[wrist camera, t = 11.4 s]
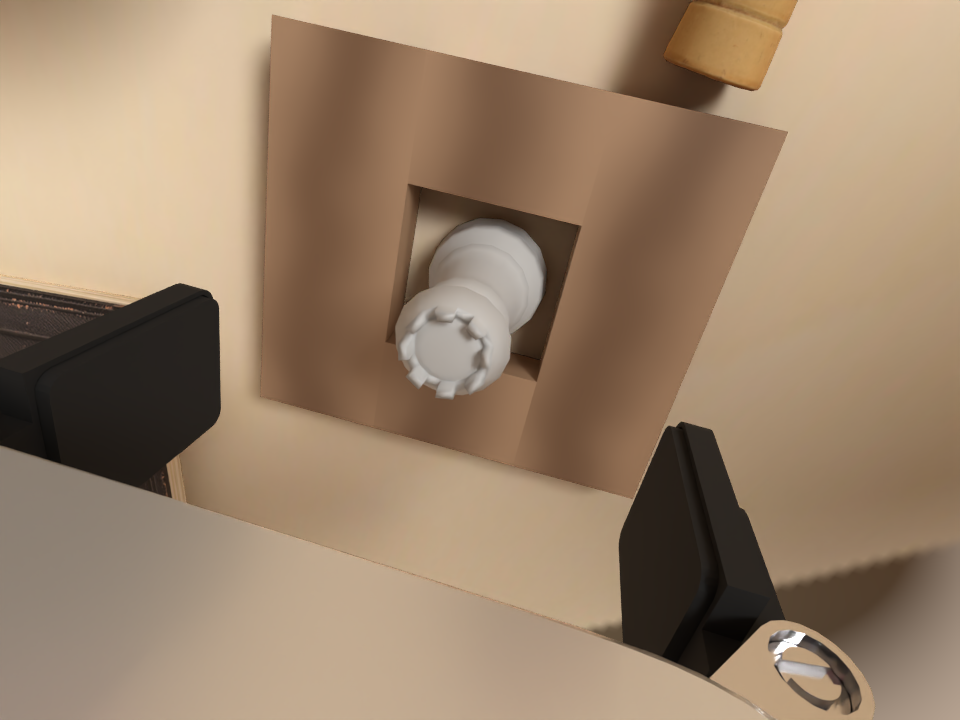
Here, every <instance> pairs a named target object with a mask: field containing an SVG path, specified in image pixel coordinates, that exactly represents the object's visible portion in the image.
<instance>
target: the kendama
mask: <svg viewBox="0 0 960 720" xmlns="http://www.w3.org/2000/svg"><path fill="white" fill-rule="evenodd" d="M797 1H798V0H694V1H693V2H691V3H690V4H689V6H688V8H687V10H686V12H685V14H684V16H683V17H682V19H681V21H680V23H679V25H678V27H677V29H676V31H675V33H674V35H673V37H672V38H671V40H670V42H669V44H668V46H667V48H666V50H665V52H664V55H663V57H664V58H665V59H666V61H668V62H670V63H672V64H674V65H677V66H680V67H683V68H686V69H688V70H690V71H693V72H696V73H698V74H702V75H704V76H706V77H708V78H711V79H714V80H717V81H721V82H723V83H726V84H728V85H732V86H734V87H737V88H741V89H745V90H749V91H754V90H758V89H759V88H760V86H761V84H762V82H763V79H764V77H765V75H766V73H767V70H768V67H769V65H770V63H771V61H772V58H773V56H774V54H775V51H776V49H777V46H778V44H779V42H780V39H781V37H782V30H781V29H782V28H784V27H785V26H786V25H787V23H788V21H789V19H790V17H791V15H792V12H793V10H794V8H795V5H796V3H797Z"/></svg>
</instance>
